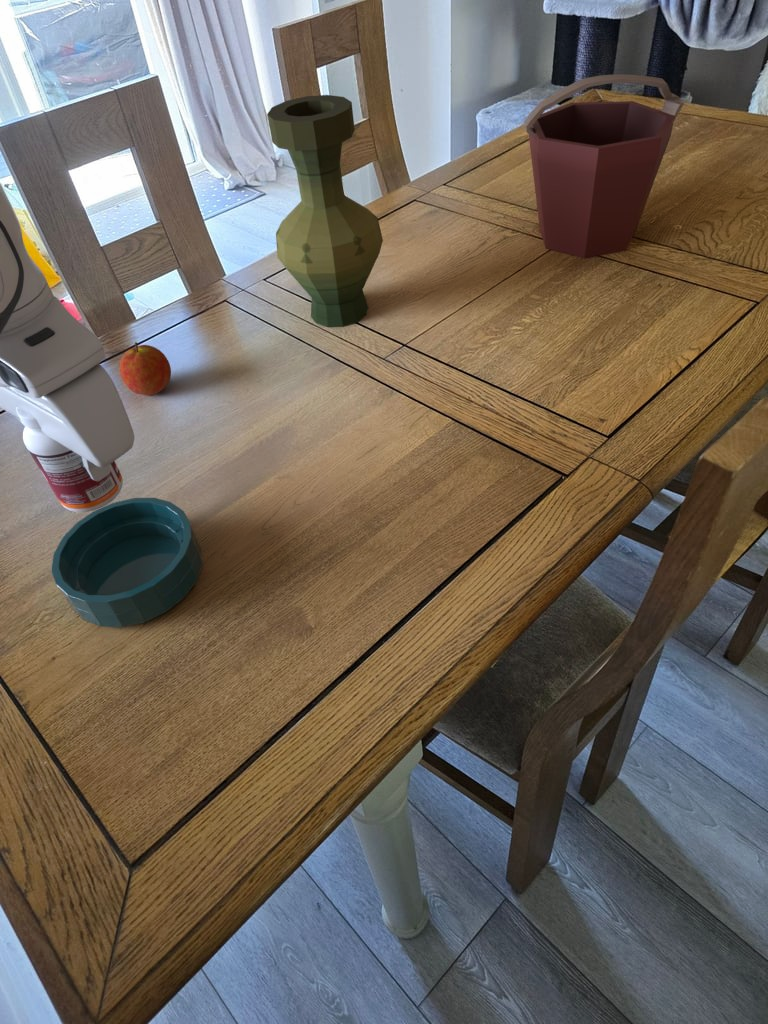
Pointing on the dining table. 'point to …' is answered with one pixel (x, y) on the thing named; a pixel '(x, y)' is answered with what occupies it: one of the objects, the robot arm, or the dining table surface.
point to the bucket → (596, 165)
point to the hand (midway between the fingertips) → (76, 460)
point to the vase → (324, 211)
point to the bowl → (127, 562)
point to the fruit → (145, 370)
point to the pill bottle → (68, 471)
